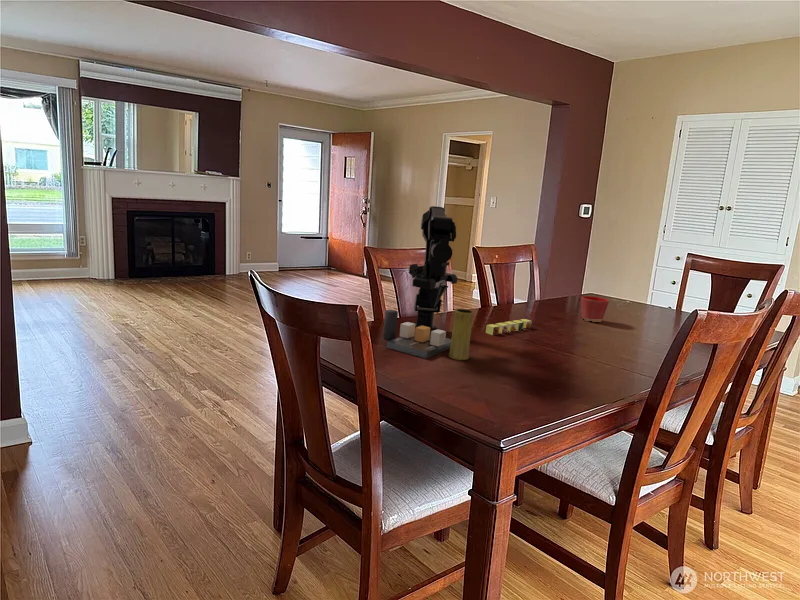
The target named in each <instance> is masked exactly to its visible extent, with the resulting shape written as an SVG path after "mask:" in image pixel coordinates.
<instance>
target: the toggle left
mask: <svg viewBox="0 0 800 600" xmlns="http://www.w3.org/2000/svg"><path fill="white" fill-rule="evenodd" d="M415 325H416V323H414V322H409V321H406V322H403V323H400V328H399V337H404V338H410V337H413V336H414V333H415V330H416V328H415Z"/></svg>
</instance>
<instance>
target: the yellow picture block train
mask: <svg viewBox="0 0 800 600" xmlns="http://www.w3.org/2000/svg"><path fill="white" fill-rule="evenodd" d="M530 327H531V328H532V320H531V319H526V318H522V319H519V320H518V319H517V320H515V319H514V320H511V321H509V320H508V321H504V322H498V323H497V322H496V323H495V324H493V323H492V324H487V325H486V328H485V334H488V335H491V336H495V335H499V334H507V333H512V332H511V331H513V332H516V331H522V330H521V329H523V328H529V329H531V328H530ZM515 329H516V330H515ZM523 330H524V329H523ZM508 331H509V332H508ZM506 332H507V333H506Z"/></svg>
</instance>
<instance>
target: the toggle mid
mask: <svg viewBox="0 0 800 600" xmlns="http://www.w3.org/2000/svg"><path fill="white" fill-rule="evenodd" d="M430 334H431V330H430V327H426V326H419V327H416V328H415V340H416V341H419V342H425V341H428V340H429V338H430Z"/></svg>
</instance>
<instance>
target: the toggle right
mask: <svg viewBox="0 0 800 600" xmlns="http://www.w3.org/2000/svg"><path fill="white" fill-rule="evenodd" d="M430 334H431V339H430V344H431V345H435V346H438V347H439V346H441V345H443V344H445V338H447V337H446V336H447V331H445V330H442V329H437V328H436V329H433V330H430Z"/></svg>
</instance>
